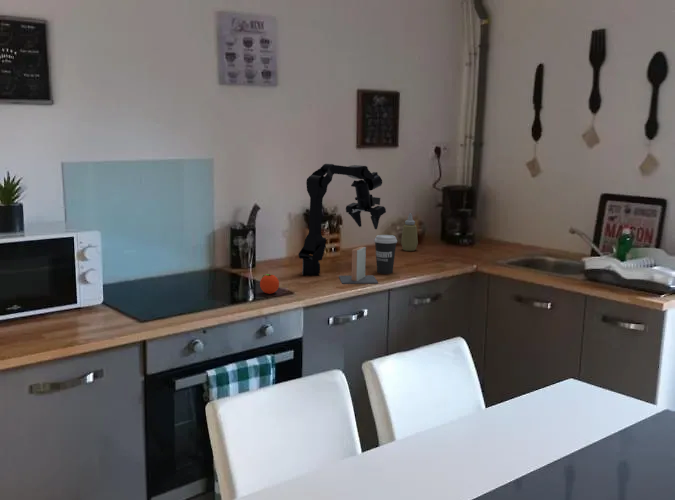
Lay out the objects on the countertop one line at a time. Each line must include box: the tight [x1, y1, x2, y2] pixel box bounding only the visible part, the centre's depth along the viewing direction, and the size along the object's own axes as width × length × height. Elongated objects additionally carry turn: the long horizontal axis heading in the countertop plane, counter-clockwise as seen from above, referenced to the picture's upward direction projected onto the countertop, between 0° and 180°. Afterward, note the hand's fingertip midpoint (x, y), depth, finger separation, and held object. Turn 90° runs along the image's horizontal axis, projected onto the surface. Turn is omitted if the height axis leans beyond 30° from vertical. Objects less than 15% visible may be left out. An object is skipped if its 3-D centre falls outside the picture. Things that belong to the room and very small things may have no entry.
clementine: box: [259, 273, 280, 295], centre depth 252 cm, size 8×7×7 cm
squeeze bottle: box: [400, 212, 419, 252], centre depth 337 cm, size 8×8×18 cm
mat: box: [338, 274, 379, 285], centre depth 275 cm, size 14×12×1 cm
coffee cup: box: [373, 234, 398, 275], centre depth 288 cm, size 10×10×15 cm
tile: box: [351, 246, 367, 281], centre depth 274 cm, size 2×8×12 cm, turn 156°
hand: (368, 227), depth 305 cm, fingers open, 9 cm apart
